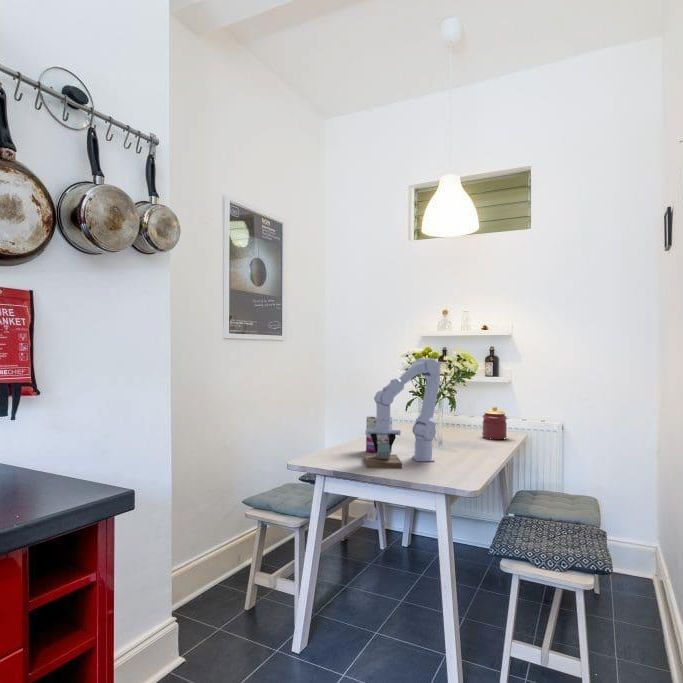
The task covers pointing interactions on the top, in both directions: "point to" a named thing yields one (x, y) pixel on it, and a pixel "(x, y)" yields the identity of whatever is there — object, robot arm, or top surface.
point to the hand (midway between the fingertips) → (382, 452)
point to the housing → (383, 450)
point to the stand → (382, 461)
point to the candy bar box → (369, 442)
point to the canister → (494, 424)
